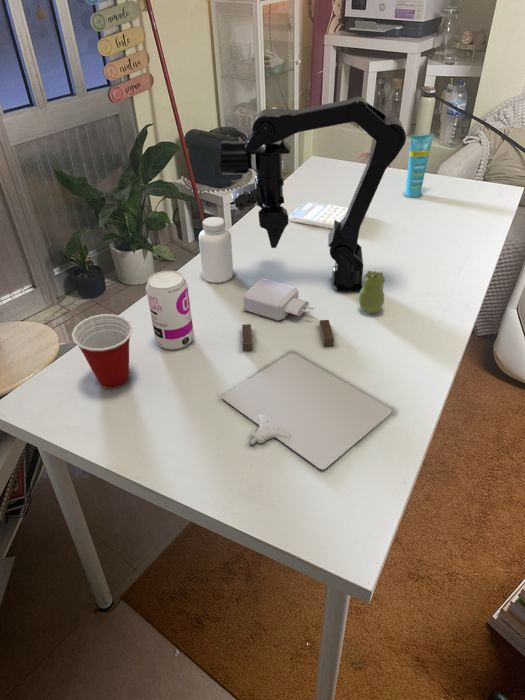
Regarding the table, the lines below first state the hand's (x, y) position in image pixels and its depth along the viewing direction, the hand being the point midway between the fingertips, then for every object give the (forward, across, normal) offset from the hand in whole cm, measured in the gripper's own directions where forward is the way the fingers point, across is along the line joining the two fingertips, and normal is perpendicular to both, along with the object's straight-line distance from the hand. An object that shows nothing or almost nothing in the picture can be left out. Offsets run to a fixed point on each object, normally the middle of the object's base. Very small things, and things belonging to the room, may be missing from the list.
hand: (272, 238), depth 125 cm
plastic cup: (+12, +34, -34) cm, 49 cm away
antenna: (+12, +46, 0) cm, 48 cm away
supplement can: (+12, +22, -23) cm, 34 cm away
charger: (+12, +13, +1) cm, 18 cm away
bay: (+12, +24, +1) cm, 27 cm away
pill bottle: (+12, -5, -14) cm, 19 cm away
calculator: (+12, -37, +19) cm, 43 cm away
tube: (+13, -52, +51) cm, 73 cm away
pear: (+13, +15, +21) cm, 29 cm away
